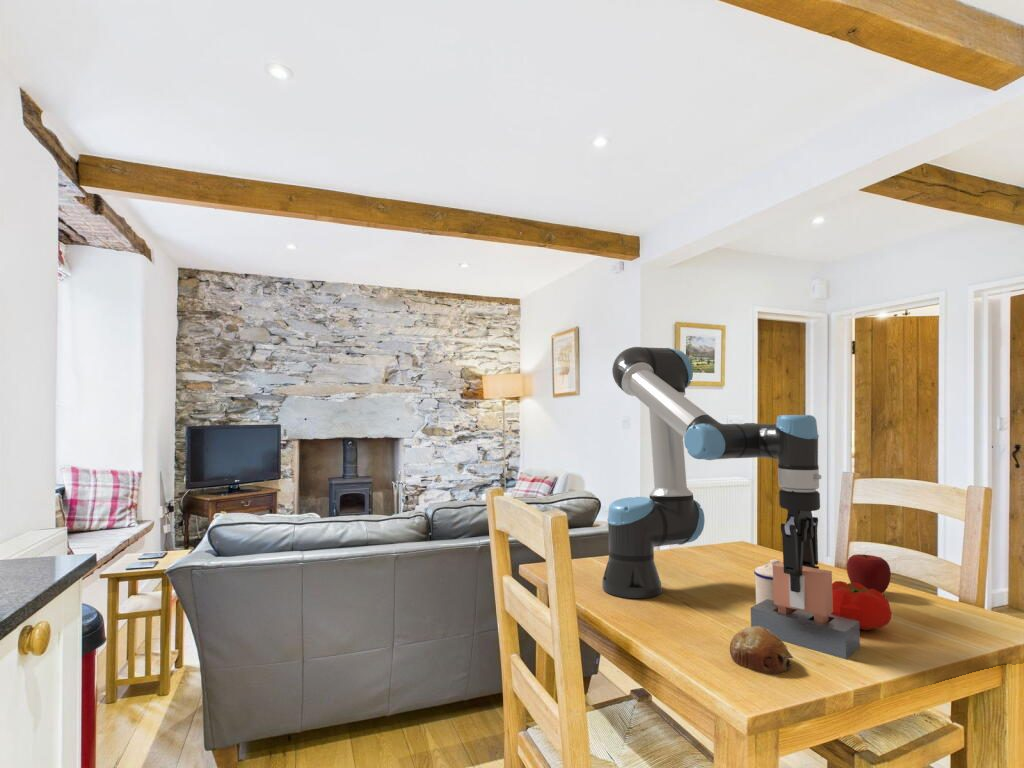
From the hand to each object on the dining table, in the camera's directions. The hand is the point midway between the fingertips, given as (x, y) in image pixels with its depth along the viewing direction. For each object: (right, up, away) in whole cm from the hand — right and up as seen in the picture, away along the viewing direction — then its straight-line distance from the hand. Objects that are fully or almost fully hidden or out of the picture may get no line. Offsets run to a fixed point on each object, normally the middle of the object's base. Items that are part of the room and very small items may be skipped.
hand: (802, 604), depth 114 cm
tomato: (+15, -8, +6) cm, 18 cm away
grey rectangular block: (0, -7, 0) cm, 7 cm away
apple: (+32, -9, +28) cm, 43 cm away
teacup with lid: (+3, -8, +17) cm, 19 cm away
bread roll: (-13, -7, -11) cm, 18 cm away
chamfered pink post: (0, -4, 0) cm, 4 cm away
